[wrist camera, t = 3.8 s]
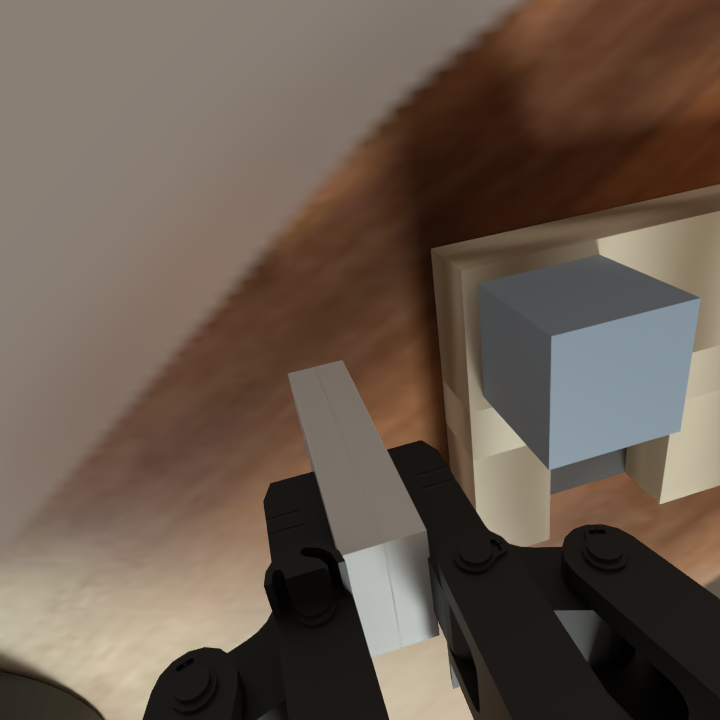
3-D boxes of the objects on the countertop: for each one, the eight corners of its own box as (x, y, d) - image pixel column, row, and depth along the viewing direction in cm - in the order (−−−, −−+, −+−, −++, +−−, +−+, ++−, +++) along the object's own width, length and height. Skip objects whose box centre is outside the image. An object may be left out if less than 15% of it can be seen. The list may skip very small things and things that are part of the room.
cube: (483, 397, 18) (548, 470, 15) (477, 283, 16) (551, 336, 13) (592, 367, 19) (680, 431, 15) (599, 254, 17) (700, 297, 14)
